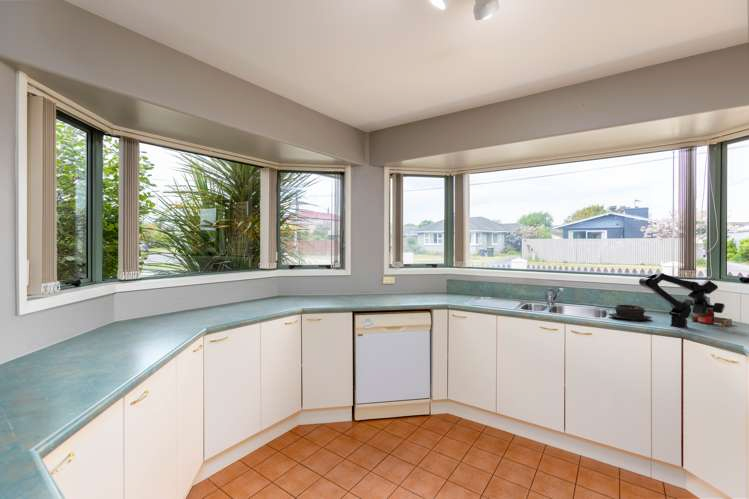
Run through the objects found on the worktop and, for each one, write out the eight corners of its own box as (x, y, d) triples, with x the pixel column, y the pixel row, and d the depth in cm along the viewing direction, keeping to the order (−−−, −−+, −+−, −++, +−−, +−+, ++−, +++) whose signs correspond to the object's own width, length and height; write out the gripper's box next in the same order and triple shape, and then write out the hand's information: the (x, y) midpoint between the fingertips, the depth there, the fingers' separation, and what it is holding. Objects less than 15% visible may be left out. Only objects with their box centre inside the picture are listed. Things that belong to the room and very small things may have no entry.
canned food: (716, 324, 218) (715, 307, 217) (699, 323, 222) (697, 307, 222) (712, 321, 224) (711, 304, 224) (696, 320, 228) (694, 304, 228)
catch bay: (723, 326, 214) (723, 321, 214) (691, 321, 228) (691, 316, 228) (731, 324, 219) (731, 319, 219) (700, 319, 233) (700, 314, 233)
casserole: (640, 316, 243) (640, 304, 243) (659, 322, 225) (659, 309, 225) (602, 315, 246) (602, 303, 246) (617, 321, 228) (617, 308, 228)
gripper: (676, 305, 220) (683, 321, 225) (715, 310, 203) (722, 327, 208) (682, 292, 223) (689, 308, 229) (721, 296, 207) (728, 313, 212)
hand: (706, 314), depth 219 cm, fingers closed
